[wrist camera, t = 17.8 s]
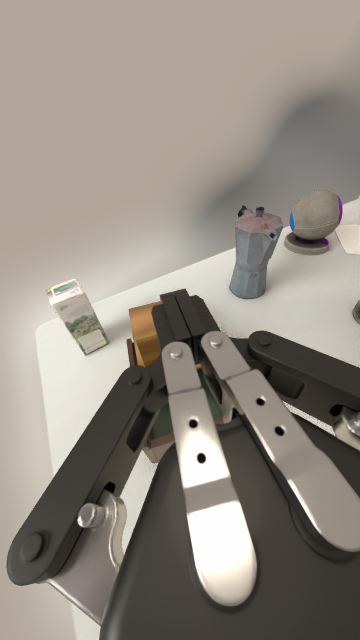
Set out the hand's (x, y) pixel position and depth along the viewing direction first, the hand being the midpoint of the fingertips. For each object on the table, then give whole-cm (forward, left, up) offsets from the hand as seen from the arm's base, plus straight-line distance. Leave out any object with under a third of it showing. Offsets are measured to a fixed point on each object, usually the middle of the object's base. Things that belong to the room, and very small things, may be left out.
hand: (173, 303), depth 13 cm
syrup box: (+29, -8, -28) cm, 42 cm away
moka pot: (+5, -39, -28) cm, 49 cm away
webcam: (-5, -67, -28) cm, 73 cm away
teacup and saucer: (-23, -77, -28) cm, 85 cm away
